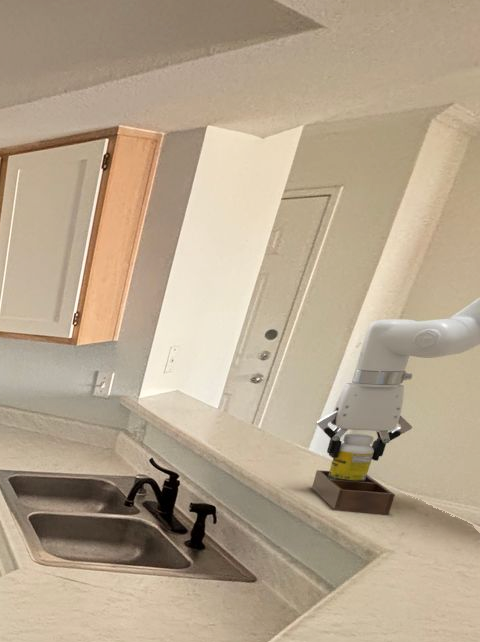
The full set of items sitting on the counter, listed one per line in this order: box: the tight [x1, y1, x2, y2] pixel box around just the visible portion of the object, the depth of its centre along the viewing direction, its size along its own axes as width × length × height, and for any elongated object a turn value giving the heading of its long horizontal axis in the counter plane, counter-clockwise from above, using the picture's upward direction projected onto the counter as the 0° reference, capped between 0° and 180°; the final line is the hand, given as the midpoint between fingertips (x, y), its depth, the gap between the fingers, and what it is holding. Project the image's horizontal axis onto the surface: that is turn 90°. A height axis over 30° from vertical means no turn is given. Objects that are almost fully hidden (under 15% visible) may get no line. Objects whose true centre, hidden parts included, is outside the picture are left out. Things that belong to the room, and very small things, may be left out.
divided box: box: [311, 469, 396, 515], centre depth 133 cm, size 9×17×5 cm, turn 151°
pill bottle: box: [328, 433, 374, 482], centre depth 134 cm, size 6×6×11 cm
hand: (352, 457), depth 134 cm, fingers closed on pill bottle, 6 cm apart
